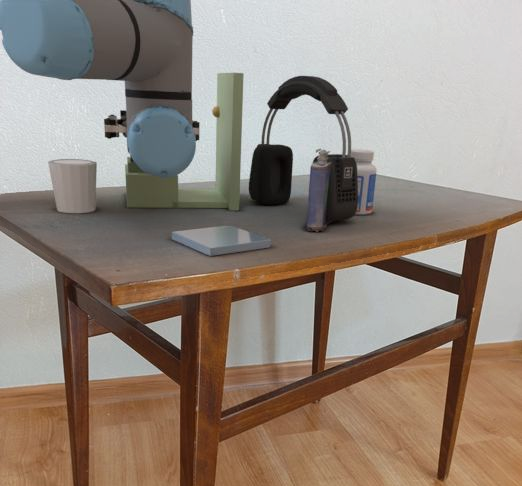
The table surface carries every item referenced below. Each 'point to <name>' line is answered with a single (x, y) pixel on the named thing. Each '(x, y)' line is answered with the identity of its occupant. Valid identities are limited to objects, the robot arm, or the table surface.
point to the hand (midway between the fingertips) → (147, 121)
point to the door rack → (227, 161)
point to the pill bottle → (365, 180)
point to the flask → (318, 192)
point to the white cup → (74, 184)
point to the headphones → (343, 166)
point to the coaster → (220, 240)
